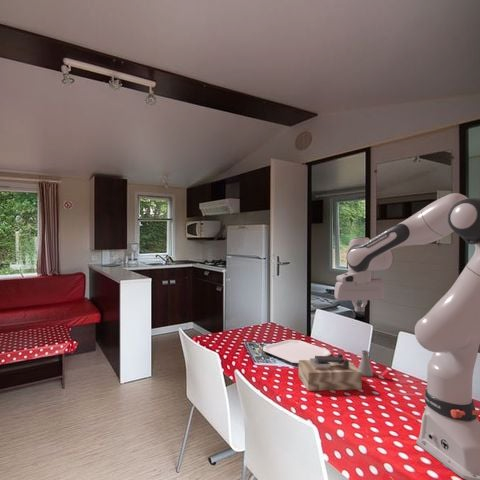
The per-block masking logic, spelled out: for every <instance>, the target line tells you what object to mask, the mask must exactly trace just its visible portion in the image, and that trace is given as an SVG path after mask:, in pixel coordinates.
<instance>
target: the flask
mask: <svg viewBox="0 0 480 480" xmlns="http://www.w3.org/2000/svg"><path fill="white" fill-rule="evenodd" d="M361 354H362V355H361V360H360V362H359V365H358V367H357V368H358V369H359V370H360V371H362V377H366V378H367V377H373V376H374V371H373V369H372V364H371V362H370V358H369V354H370V351H369V350H361Z"/></svg>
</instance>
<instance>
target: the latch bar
mask: <svg viewBox="0 0 480 480" xmlns="http://www.w3.org/2000/svg"><path fill="white" fill-rule="evenodd" d="M315 359H316V360H317V361H318V362H341V363H344V358H342V357H338V355H337V356H333V355H331V356H315Z"/></svg>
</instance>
